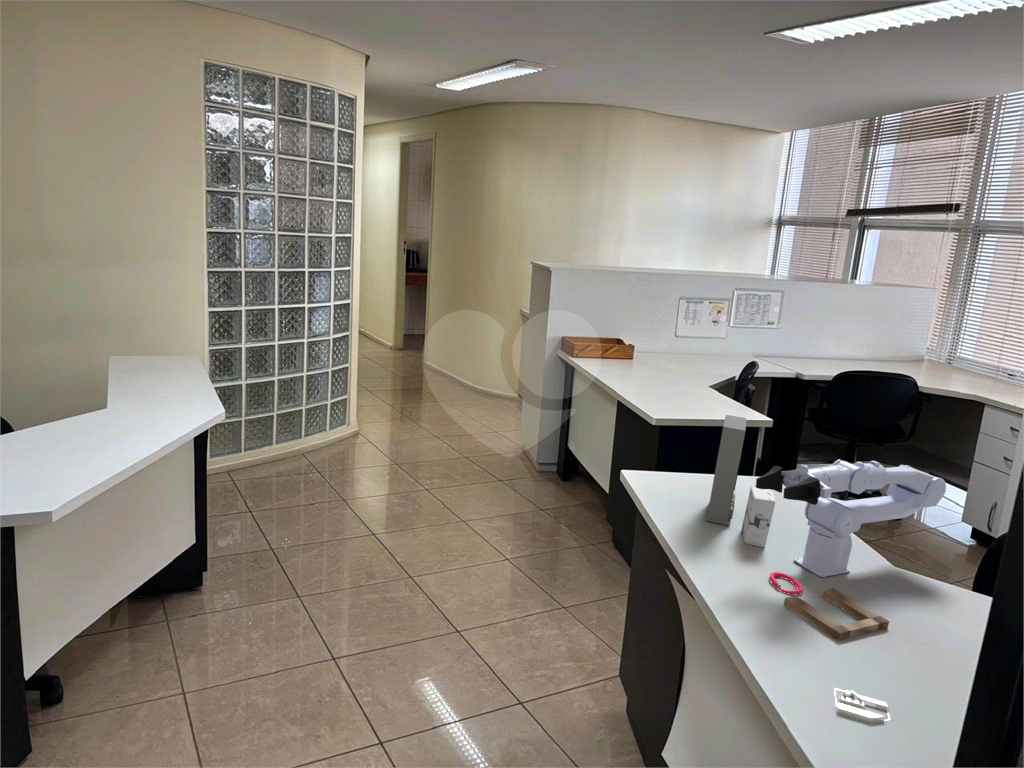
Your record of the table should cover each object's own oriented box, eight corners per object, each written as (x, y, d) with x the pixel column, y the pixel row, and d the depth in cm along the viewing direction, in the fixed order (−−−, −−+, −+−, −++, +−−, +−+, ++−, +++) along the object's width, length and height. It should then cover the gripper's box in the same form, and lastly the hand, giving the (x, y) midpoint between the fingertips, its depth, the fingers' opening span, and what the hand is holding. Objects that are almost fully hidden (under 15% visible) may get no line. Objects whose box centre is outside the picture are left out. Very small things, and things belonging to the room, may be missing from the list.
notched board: (831, 594, 150) (833, 588, 150) (887, 628, 139) (889, 621, 139) (783, 604, 144) (785, 597, 143) (838, 640, 133) (840, 633, 132)
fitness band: (763, 576, 156) (764, 570, 155) (789, 578, 156) (790, 571, 156) (780, 595, 148) (781, 589, 148) (807, 597, 149) (808, 590, 148)
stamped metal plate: (835, 715, 112) (837, 707, 112) (832, 691, 118) (834, 683, 118) (892, 732, 109) (894, 724, 109) (885, 706, 116) (887, 698, 115)
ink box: (741, 529, 179) (749, 485, 176) (762, 533, 178) (770, 489, 175) (744, 544, 171) (753, 497, 168) (766, 548, 170) (776, 501, 167)
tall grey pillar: (730, 527, 180) (748, 431, 174) (705, 521, 182) (722, 426, 176) (732, 508, 193) (749, 418, 187) (709, 503, 195) (725, 414, 189)
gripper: (793, 455, 161) (747, 461, 155) (848, 471, 148) (799, 478, 142) (791, 485, 162) (744, 492, 156) (845, 504, 149) (797, 513, 143)
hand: (770, 488), depth 149 cm, fingers open, 7 cm apart
